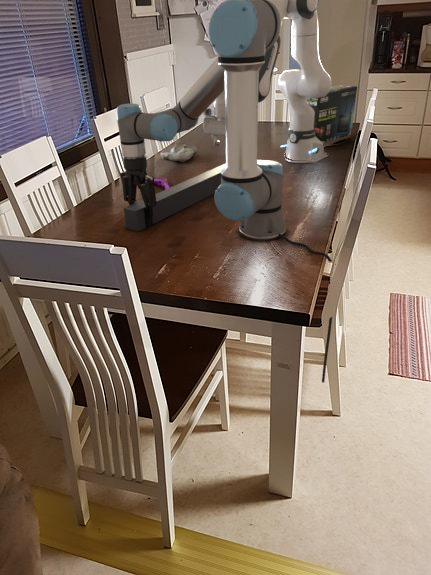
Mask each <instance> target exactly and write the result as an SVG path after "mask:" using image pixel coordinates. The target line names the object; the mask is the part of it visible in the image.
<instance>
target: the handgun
mask: <svg viewBox="0 0 431 575" xmlns="http://www.w3.org/2000/svg"><path fill="white" fill-rule="evenodd" d="M154 185H158V186H162V189H164V190H166V189H168V188H171V187H170V185H169V183H168V178H166V177H163V178H162V177H161V178H160V179H159V178H157V179H156V178H155V180H154Z"/></svg>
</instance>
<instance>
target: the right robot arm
mask: <svg viewBox="0 0 431 575" xmlns="http://www.w3.org/2000/svg"><path fill="white" fill-rule="evenodd" d="M268 1H270V2H271V3H273V4H274V5H275V7H276V8H277V9H278V12H279V14H280V17H281V26H283V23H284V20H285V19H287V20H289V19H290V20H291V57H292V58H293V60H295V61H296V62H297V64H298V65H299V67H300V69H293V68H292V69H288V70H284V71H282V72H281V74H280V75H279V78H278V82H277V85H278V90H279V91H280V92H281V94H282V95H283V96H284V98H285V100H286V102H287V105H288V109H289V128H288V130H287V134H288V135H287V136H288V138H287V142H286V144H283V145H280V148H284V147H286V149H285V153H286V157H287V158H289V159H292V160H311V158H313V157H315V156H317V155H319V154H321V153H323V152H325V151H324V149H325V148H324V145H323V143H322V142H321V141H320V140H319V139H318V138H317V137H316V134H315V132H316V133H319V129H318V128H315V129H314V116H315V112H314V109H313V108H312V107H311V106H310V105H309V104H308V102H307V99H306V97H307V98H320V97H325V96H326V95H327V94H328V93H329V91H330V89H331V87H332V85H333V84H332V82H333V81H332V78H331V76H330V74H329V73H328V72H327V71H326V70H325V69H324V67H323V65H322V63H321V59H320V53H319V18H318V10H317V9H318V6H319V1H320V0H268ZM280 48H281V36H280V35H279V37H278V39H277V41H276V42H275V43H274V45H273V46H272V47H271V48H270V49H269V50H268V51H267V52H266V53H265V63H264V64H263V65H262V66H261V67H260V68H259V81H258V103H261V102H263V101H264V100H265V99H267V97H268V95H269V94H270V91H271V84H272V77H273V75H274V70H275V67H276V63H277V59H278V56H279V52H280V50H281V49H280ZM202 114H203V115H204V116H203V118H202V130H203V132H204V133H205V134H209V135H210V137H211V139H212V141H213V146H217V147H218V146H220V140H219V139H218V138H217V136H224V137H226V125H225V90H224V91H223V92H222V93H221V94H220V95H219V97H218V98H217V99H216V100H215V101H214V102H213V105H212V106H209V107H208V108H207V109H206V110H205V111H204V112H203V113H202ZM357 135H360V132H358V134H357ZM328 156H329V154H328V155H326V156H324V157H322V158H320V159H318V160H316V159H313V160H316V161H291V160H288V159H286V158H285V155H284V154H283V157H284V160H285V161H286V162H289V163H295V164H316V163H318V162H319V161H322V160H323V159H325V158H327V157H328Z"/></svg>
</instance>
